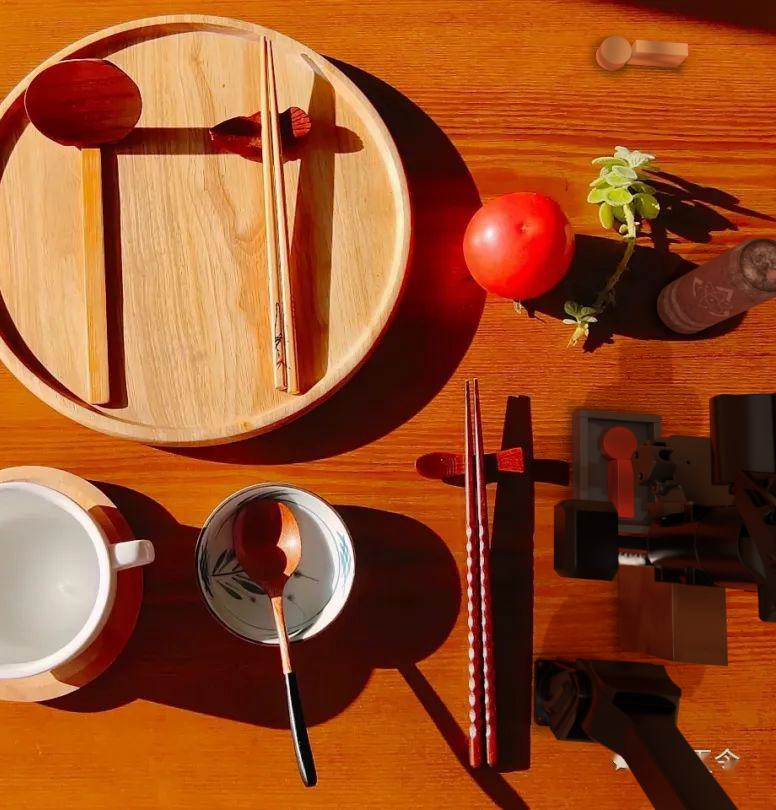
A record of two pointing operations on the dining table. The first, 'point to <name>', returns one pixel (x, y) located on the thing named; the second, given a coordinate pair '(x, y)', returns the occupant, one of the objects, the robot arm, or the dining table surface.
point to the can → (720, 287)
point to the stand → (671, 618)
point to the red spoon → (619, 468)
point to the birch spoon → (640, 53)
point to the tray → (593, 465)
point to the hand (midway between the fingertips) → (622, 545)
